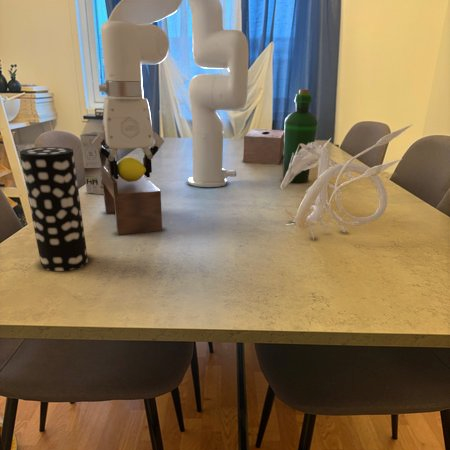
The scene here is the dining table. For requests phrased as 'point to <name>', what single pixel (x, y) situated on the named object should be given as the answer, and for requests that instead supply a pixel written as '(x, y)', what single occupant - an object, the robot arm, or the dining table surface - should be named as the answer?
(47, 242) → the spotted tube
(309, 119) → the bottle
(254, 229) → the dining table surface
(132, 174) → the lemon
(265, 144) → the tissue box cover
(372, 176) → the serpentine dragon sculpture
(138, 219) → the shelf
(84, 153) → the coffee box
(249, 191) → the dining table surface
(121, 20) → the robot arm
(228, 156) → the dining table surface
